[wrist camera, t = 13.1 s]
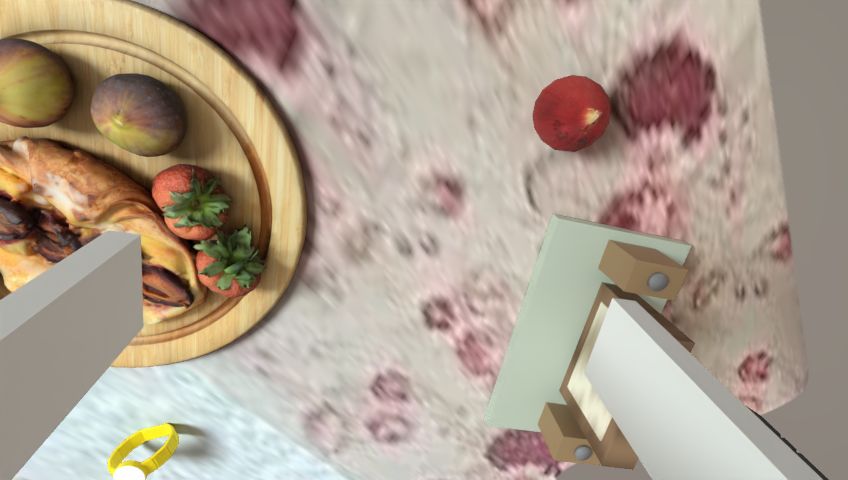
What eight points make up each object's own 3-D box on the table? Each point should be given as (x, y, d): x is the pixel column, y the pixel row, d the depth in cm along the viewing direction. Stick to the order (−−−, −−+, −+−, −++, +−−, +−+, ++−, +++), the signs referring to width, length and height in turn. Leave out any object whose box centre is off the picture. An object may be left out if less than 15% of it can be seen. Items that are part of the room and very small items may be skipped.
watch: (178, 411, 47) (156, 456, 42) (189, 432, 48) (169, 477, 43) (119, 429, 47) (90, 476, 41) (132, 449, 48) (104, 498, 42)
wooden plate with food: (5, 380, 44) (-70, 446, 37) (-193, 15, 33) (-365, -1, 25) (337, 327, 47) (331, 379, 39) (263, -30, 35) (234, -57, 27)
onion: (578, 146, 41) (622, 163, 34) (516, 141, 41) (548, 157, 33) (592, 78, 39) (642, 80, 32) (527, 71, 39) (564, 72, 31)
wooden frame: (600, 281, 45) (659, 337, 35) (630, 287, 45) (696, 343, 36) (557, 390, 49) (600, 465, 40) (585, 394, 49) (634, 469, 40)
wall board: (552, 213, 43) (583, 238, 37) (681, 240, 46) (731, 268, 39) (484, 415, 51) (500, 465, 45) (598, 429, 53) (628, 479, 47)
